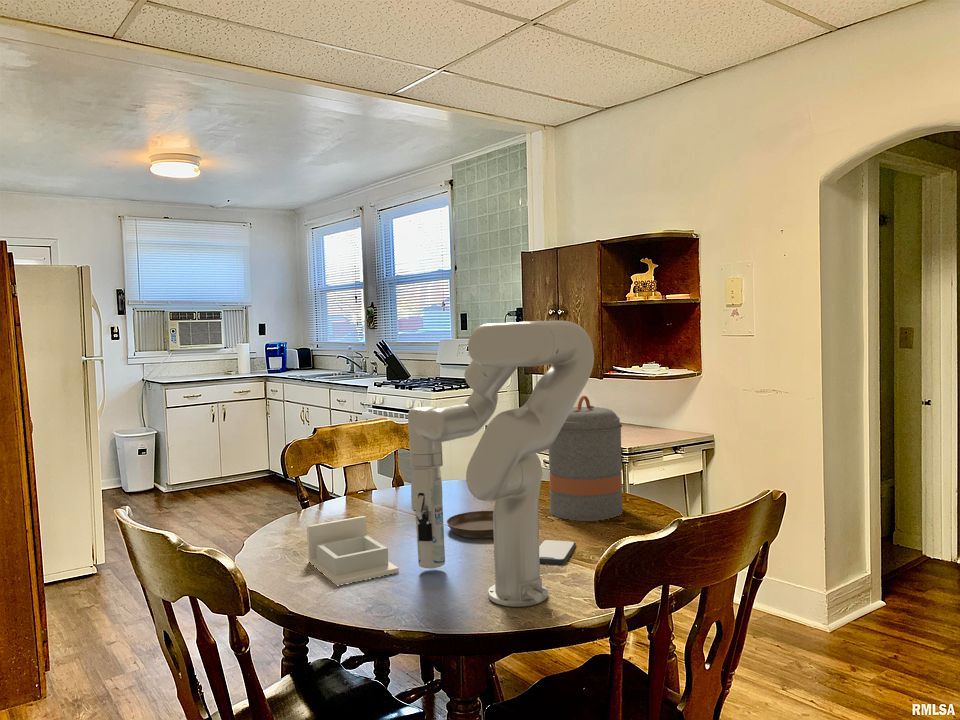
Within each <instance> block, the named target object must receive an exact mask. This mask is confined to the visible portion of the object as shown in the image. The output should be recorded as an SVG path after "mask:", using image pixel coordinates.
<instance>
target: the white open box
mask: <svg viewBox="0 0 960 720" xmlns="http://www.w3.org/2000/svg"><path fill="white" fill-rule="evenodd" d="M367 531H368V530H367V516H365V515H362V516H355V517H350V518H349V517H348V518H345V519H344V518H343V519H339V520H332V521H327V522H321V523H315V524H310V525H307V526H306V532H307V533H306V534H307V557H308V561H309V562H311V563H312V564H313V565H314V566H315V567H316V568H318V569H319V570H320V571H321V572H322V573H324V574H325V575H326V576H327V577H328V578H329V579H330V580H332V581H333V582H334V583H335V584H336V585H341V584H346V583H351V582H356V581H360V580H365V579H369V578H374V577H378V578H380V577H379V576H383V577H385V576H384V575H387V576H390V575H389V574H392V575H395V574H394V573H396V574H399V569H400V568H399V567H398V566H396V565H395V564H393V563H392V562H390V561H389V549H388V547H387V546H385V545H383V544H382V543H380V542H378V541H377V540H375V539H373V538H372V537H370V536H369V535H368V534H367V533H368V532H367ZM309 562H308V563H309ZM316 568H315V569H316ZM329 579H328V580H329ZM374 579H375V578H374ZM330 580H329V581H330ZM369 580H370V579H369ZM365 581H366V580H365ZM356 583H357V582H356ZM335 584H334V585H335ZM336 585H335V586H336Z"/></svg>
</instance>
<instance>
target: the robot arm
mask: <svg viewBox="0 0 960 720" xmlns="http://www.w3.org/2000/svg"><path fill="white" fill-rule="evenodd" d="M467 351H468V354H469V356H470V358H471V362H469V364H468V366H466V368H465V370H464V374H463V376H464V379H465V382H466V384H467V385H468V387H469V388H470V389H471V390H472V392H471V394H470V395H469V397H468V398H467V399H466V400H465V401H464V402H463V403H462V404H456V405H451V406H445V407H439V408H438V407H437V406H436V407H435V406H433V405H432V406H429V405H427V406H426V405H425V406H417V407H412V408H410V409H409V410H408V413H407V424H408V441H409V444H408V445H409V446H408V447H409V460H410V462H409V463H410V465H409V466H410V468H411V479H410V480H411V481H410V483H411V484H410V485H411V486H410V488H411V489H410V493H411V495H410V498H411V500H410V502H411V505H410V506H411V507H410V508H411V510H412V512H416V513H415V516H416V515H417V524H418V538H419V541H432V540H433V537H432V523H430V518H431V511H432V510H433V509H434V504H435V481H436V480H437V479H439V478H441V481H442V480H443V479H442V471H441V467H443V465H444V463H443V462H444V460H443V443H445V442H449V441H454V440H458V439H462V438H463V439H464V438H467V437H468V438H469V437H471V436H474V435H475V434H477V433H478V432H479V431H480V430H481V429H483V427H484V426H485V425H486V423H488V421H489V420H490V419H491V418H492V416H493V415H494V413H495V412H496V408H497V404H498V400H499V395H498V393H499V391H500V390H501V389H502V387H504V385H505V384H506V383H507V382H508V380H509V379H510V378H511V376H512V375H513V374H514V373H515V372H516V370H517V369H518V368H519V367H538V366H546V365H548V366H549V365H550V366H549V369H548V370H547V371H546V372H545V373H544V374H543V375H542V376H541V377H540V379H539V380H538V381H537V382H536V384H535V386H534V387H533V390H532V392H531V394H530V396H529V398H527V401H526V402H525V403H524V404H523V405H522V406H520V407H517V408H512V409H508V410H505V411H502V412H500V413H497V415H495V416H494V417H493V418H492V419H491V420H490V422H489V423H488V424H487V426H486V428H485V430H484V431H483V433H482V435H481V437H480V440H479V442H478V443H477V446H476V447H475V449H474V451H473V453H472V455H471V457H470V459H469V462H468V465H467V468H466V473H465V479H466V481H465V482H466V487H467V488H468V490H469V492H470V493H471V495H472V496H473V497H475V498H476V499H477V500H480V501H484V502H492V501H494V506H493V511H494V512H493V531H494V538H493V555H494V557H493V558H494V560H493V561H494V564H493V565H494V584H493V585H492V586H490V587H489V588H488V590H487V598H488V599H489V600H490V601H491V602H492V603H495V604H497V605H501V606H505V607H510V608H511V607H515V608H516V607H517V608H518V607H520V608H521V607H529V606H530V607H531V606H534V605H537V604H541V603H543V602H544V601H546V599H547V598H548V596H549V590H548V588H547V587H546V586H545V585H543V579H542V578H541V571H540V570H541V569H540V568H541V566H540V565H541V563H540V558H539V545H540V536H539V535H540V525H539V524H540V518H539V513H540V512H539V506H540V504H539V503H540V493H541V492H540V490H541V486H542V485H541V484H542V479H543V467H542V462H541V459H540V457H539V455H538V453H542V452H544V451H546V450H549V447H550V446H551V445H552V444H553V442H554V441H555V439H556V437H557V435H558V434H559V432H560V430H561V428H562V426H563V424H564V423H565V421H566V419H567V417H568V415H569V414H570V412H571V409H572V407H575V406H574V405H575V404H576V401H577V400H579V399H578V398H579V397H580V395H581V394H582V392H583V390H584V389H585V387H586V385H587V383H588V382H589V379H590V377H591V374H592V371H593V369H594V368H593V367H594V362H595V352H594V351H595V350H594V345H593V342H592V340H591V338H590V336H589V334H588V332H587V331H586V330H585V328H583V327H582V326H581V325H579V324H577V323H576V322H573V321H568V320H536V321H534V320H532V321H519V322H496V323H484V324H482V325H481V324H480V325H479V326H477V327H476V328H475V329H474V330H473V331H472V332H471V334H470V336H469V338H468V342H467ZM442 482H443V481H442ZM423 507H428V510H423ZM423 513H427V517H426V515H425V514H423Z"/></svg>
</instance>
